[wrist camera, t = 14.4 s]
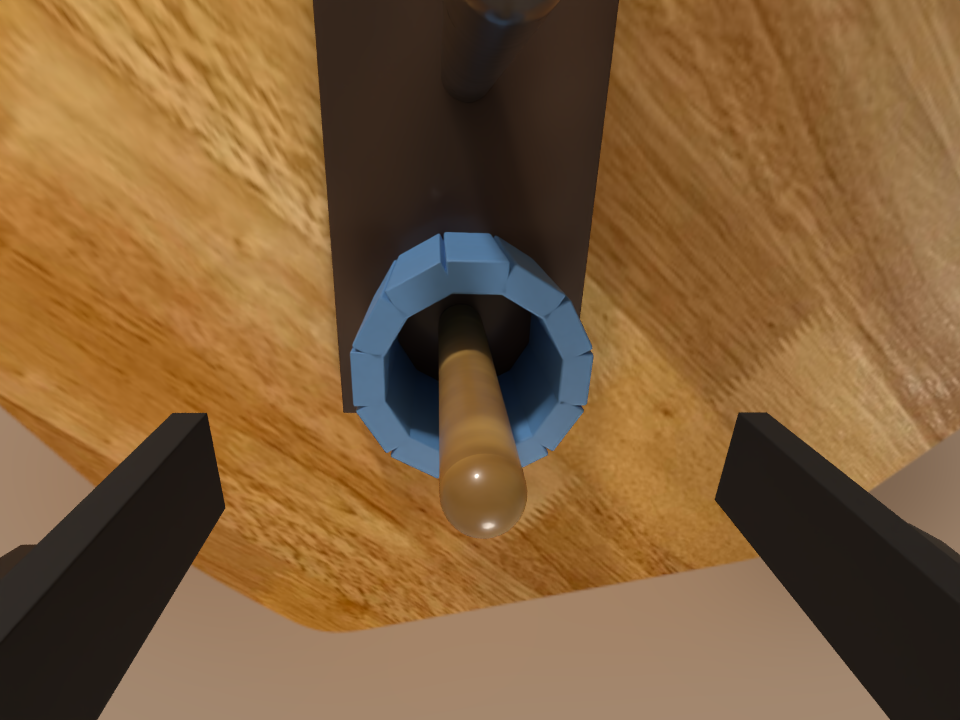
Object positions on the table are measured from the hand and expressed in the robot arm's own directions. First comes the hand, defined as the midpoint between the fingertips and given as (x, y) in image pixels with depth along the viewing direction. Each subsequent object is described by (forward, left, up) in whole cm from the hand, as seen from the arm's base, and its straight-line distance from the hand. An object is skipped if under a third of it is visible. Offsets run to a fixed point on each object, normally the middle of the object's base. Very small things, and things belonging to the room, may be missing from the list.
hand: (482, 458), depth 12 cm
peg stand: (0, -5, -12) cm, 13 cm away
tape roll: (0, 0, -11) cm, 11 cm away
